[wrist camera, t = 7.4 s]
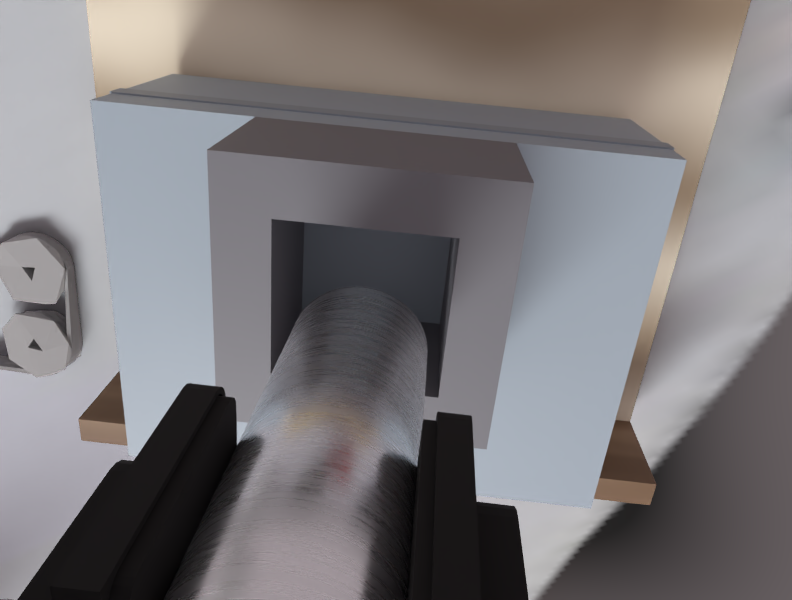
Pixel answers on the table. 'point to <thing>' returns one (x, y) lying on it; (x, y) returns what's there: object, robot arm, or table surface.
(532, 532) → the table surface
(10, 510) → the table surface
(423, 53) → the bay
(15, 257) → the pulley system
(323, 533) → the handle peg
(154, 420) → the square socket plate
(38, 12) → the table surface
